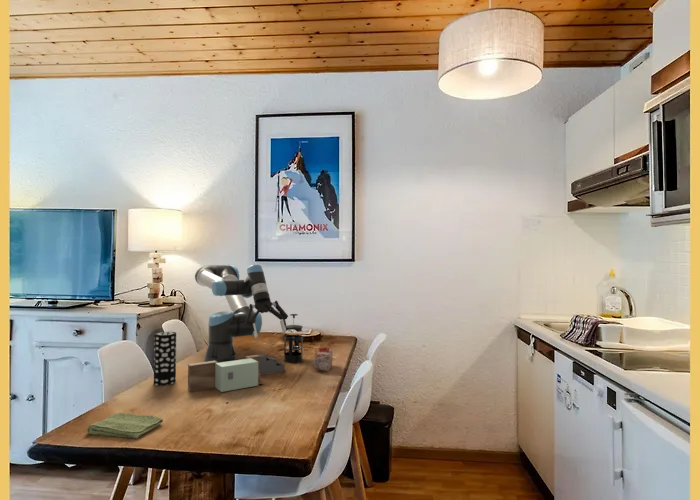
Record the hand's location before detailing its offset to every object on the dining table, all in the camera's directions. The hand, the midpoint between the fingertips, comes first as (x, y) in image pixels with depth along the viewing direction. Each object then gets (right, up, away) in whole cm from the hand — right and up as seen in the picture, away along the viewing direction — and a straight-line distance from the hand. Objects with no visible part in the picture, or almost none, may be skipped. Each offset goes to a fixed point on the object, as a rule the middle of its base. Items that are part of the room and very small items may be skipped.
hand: (270, 335), depth 205 cm
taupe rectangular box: (-14, -15, -25) cm, 33 cm away
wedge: (0, -16, -5) cm, 16 cm away
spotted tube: (-39, -15, -23) cm, 48 cm away
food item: (+24, -16, +2) cm, 29 cm away
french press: (+8, -16, +17) cm, 25 cm away
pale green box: (-9, -15, -28) cm, 33 cm away
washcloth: (-31, -15, -70) cm, 78 cm away
